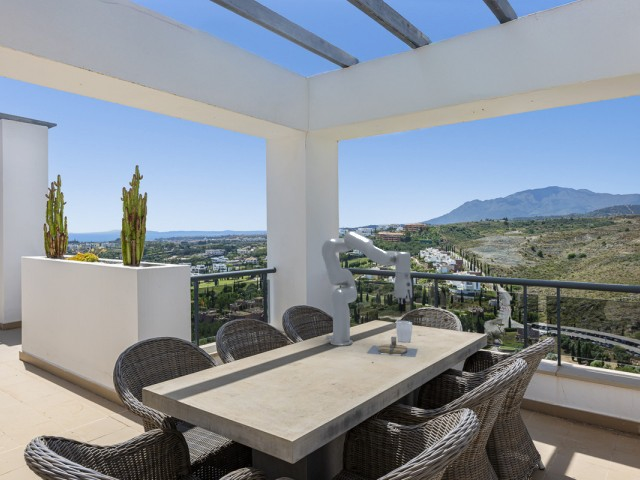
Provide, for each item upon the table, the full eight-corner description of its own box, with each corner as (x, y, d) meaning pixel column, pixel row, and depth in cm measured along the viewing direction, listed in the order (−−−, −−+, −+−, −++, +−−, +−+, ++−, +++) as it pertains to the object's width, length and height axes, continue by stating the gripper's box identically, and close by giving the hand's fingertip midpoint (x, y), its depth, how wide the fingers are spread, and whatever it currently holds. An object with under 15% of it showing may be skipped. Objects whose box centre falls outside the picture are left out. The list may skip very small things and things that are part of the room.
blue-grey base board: (366, 356, 215) (366, 352, 215) (372, 348, 232) (372, 345, 232) (415, 360, 208) (415, 356, 208) (418, 351, 224) (418, 348, 224)
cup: (408, 346, 237) (407, 324, 237) (393, 343, 242) (393, 322, 242) (415, 343, 244) (415, 322, 244) (400, 341, 249) (400, 320, 249)
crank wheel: (406, 355, 210) (405, 344, 210) (376, 353, 214) (376, 342, 214) (407, 347, 225) (407, 337, 225) (380, 346, 229) (380, 336, 229)
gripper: (417, 276, 216) (417, 313, 216) (400, 274, 230) (399, 308, 230) (405, 277, 213) (404, 314, 213) (388, 274, 226) (387, 309, 227)
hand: (402, 311), depth 221 cm, fingers closed
